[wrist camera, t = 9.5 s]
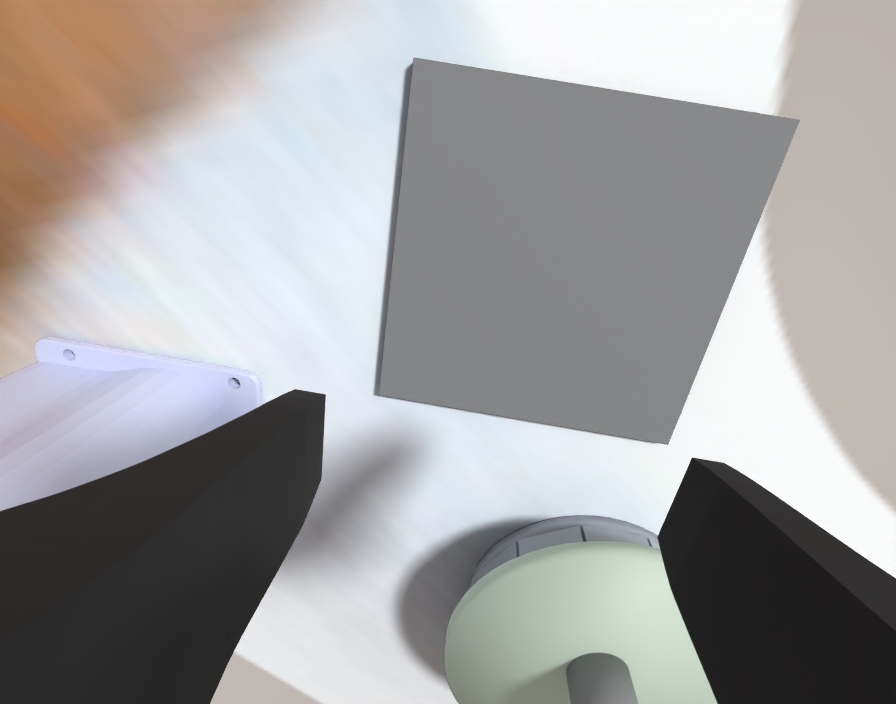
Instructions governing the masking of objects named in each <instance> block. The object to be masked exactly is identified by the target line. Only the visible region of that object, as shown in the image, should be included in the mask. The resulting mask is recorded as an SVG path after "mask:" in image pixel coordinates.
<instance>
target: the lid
mask: <svg viewBox="0 0 896 704" xmlns="http://www.w3.org/2000/svg"><path fill="white" fill-rule="evenodd" d="M444 666H445V675H446V678H447V681H448V685H449V687H450V689H451V691H452V693H453V695H454V697H455V699H456V700H457V702H458V703H459V704H717V701H716V699H715V696H714V694H713V692H712V689H711V687H710V684H709V682H708V679H707V677H706V675H705V672H704V670H703V667H702V665H701V663H700V660H699V658H698V655H697V653H696V650H695V648H694V646H693V643H692V641H691V638H690V636H689V634H688V631H687V629H686V626H685V624H684V621H683V619H682V616H681V614H680V611H679V609H678V606H677V604H676V601H675V599H674V596H673V594H672V591H671V588H670V585H669V581H668V578H667V574H666V570H665V567H664V563H663V559H662V555H661V551H660V549H659V548H654V547H650V546H645V545H640V544H634V543H625V542H616V541H587V542H575V543H567V544H561V545H556V546H551V547H546V548H543V549H539V550H536V551H533V552H529V553H526V554H524V555H522V556H519V557H517V558H514V559H512V560H510V561H508V562H506V563H504V564H502V565H500V566H499V567H497V568H495V569H493V570H492V571H490V572H489V573H488V574H486V575H485V576H484V577H482V578H481V579H480V580H478V581H477V582H476V583H475V584H474V585H473V586H472V587H471V588H470V589H469V590H468V591H467V592H466V593H465V595H464V596H463V597H462V599H461V600H460V601H459V603H458V604H457V606H456V608H455V610H454V612H453V614H452V616H451V618H450V621H449V624H448V628H447V633H446V644H445V655H444Z"/></svg>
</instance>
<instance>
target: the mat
mask: <svg viewBox="0 0 896 704" xmlns="http://www.w3.org/2000/svg"><path fill="white" fill-rule="evenodd" d="M799 121H800V120H797V119H791V118H785V117H779V116H772V115H766V114H760V113H754V112H748V111H741V110H735V109H729V108H723V107H717V106H710V105H704V104H698V103H692V102H686V101H679V100H673V99H667V98H661V97H655V96H648V95H642V94H636V93H630V92H624V91H618V90H611V89H605V88H599V87H593V86H587V85H580V84H574V83H568V82H562V81H556V80H549V79H543V78H537V77H531V76H525V75H518V74H512V73H506V72H500V71H494V70H487V69H481V68H475V67H469V66H463V65H457V64H450V63H444V62H438V61H432V60H426V59H419V58H414V59H413V68H412V78H411V88H410V97H409V107H408V117H407V126H406V136H405V146H404V155H403V165H402V175H401V185H400V194H399V204H398V214H397V223H396V233H395V243H394V252H393V262H392V272H391V281H390V291H389V301H388V310H387V320H386V330H385V340H384V349H383V359H382V369H381V378H380V388H379V395H381V396H387V397H393V398H399V399H404V400H410V401H416V402H422V403H428V404H434V405H439V406H445V407H451V408H457V409H463V410H469V411H474V412H480V413H486V414H492V415H498V416H503V417H509V418H515V419H521V420H527V421H533V422H538V423H544V424H550V425H556V426H562V427H568V428H573V429H579V430H585V431H591V432H597V433H602V434H608V435H614V436H620V437H626V438H632V439H637V440H643V441H649V442H655V443H661V444H667V445H668V443H669V441H670V439H671V436H672V434H673V431H674V429H675V426H676V424H677V421H678V419H679V416H680V414H681V411H682V409H683V407H684V404H685V402H686V399H687V397H688V394H689V392H690V389H691V387H692V384H693V382H694V379H695V377H696V375H697V372H698V370H699V367H700V365H701V362H702V360H703V357H704V355H705V352H706V350H707V347H708V345H709V342H710V340H711V338H712V335H713V333H714V330H715V328H716V325H717V323H718V320H719V318H720V315H721V313H722V310H723V308H724V306H725V303H726V301H727V298H728V296H729V293H730V291H731V288H732V286H733V283H734V281H735V278H736V276H737V274H738V271H739V269H740V266H741V264H742V261H743V259H744V256H745V254H746V251H747V249H748V246H749V244H750V242H751V239H752V237H753V234H754V232H755V229H756V227H757V224H758V222H759V219H760V217H761V214H762V212H763V210H764V207H765V205H766V202H767V200H768V197H769V195H770V192H771V190H772V187H773V185H774V182H775V180H776V177H777V175H778V172H779V170H780V167H781V165H782V163H783V160H784V158H785V155H786V153H787V150H788V148H789V146H790V143H791V140H792V138H793V136H794V133H795V130H796V128H797V126H798V123H799Z"/></svg>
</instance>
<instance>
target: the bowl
mask: <svg viewBox="0 0 896 704" xmlns="http://www.w3.org/2000/svg"><path fill="white" fill-rule="evenodd" d="M657 537H658V536H657V535H655V534H654V533H652V532H650V531H648V530H646V529H644V528H642V527H640V526H637V525H634V524H631V523H628V522H625V521H621V520H617V519H612V518H606V517H598V516H567V517H559V518H553V519H548V520H544V521H541V522H537V523H534V524H531V525H528V526H526V527H524V528H521V529H519V530H517V531H515V532H513V533H511V534H510V535H508V536H506V537H505V538H503V539H502V540H501V541H499V542H498V543H496V544H495V545H494V546H493V547H492V548H491V549H490V550H489V551H488V552H487V553H486V554H485V555H484V557H483V558H482V559H481V561H480V562H479V563H478V565H477V567H476V569H475V571H474V573H473V576H472V579H471V582H470V587H469V589H470V588H471V587H472V586H473V585H474V584H475V583H476V582H477V581H478V580H480V579H481V578H482V577H484V576H485V575H486V574H488V573H489V572H490V571H492V570H493V569H495V568H497V567H499V566H500V565H502V564H504V563H506V562H508V561H510V560H512V559H514V558H517V557H519V556H522V555H524V554H526V553H529V552H533V551H536V550H539V549H543V548H546V547H551V546H556V545H561V544H567V543H575V542H587V541H616V542H625V543H634V544H640V545H645V546H650V547H654V548H659V549H660V546H659V542H658V538H657Z"/></svg>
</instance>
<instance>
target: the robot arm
mask: <svg viewBox="0 0 896 704" xmlns="http://www.w3.org/2000/svg"><path fill="white" fill-rule="evenodd" d="M35 351H36V355H37V360H38V362H36V363H34V364H32V365H30V366H27V367H25V368H23V369H21V370H19V371H16V372H14V373H12V374H10V375H8V376H5V377H3V378H1V379H0V704H210V702H211V699H212V698H213V695H214V693H215V691H216V689H217V686H218V684H219V682H220V680H221V677H222V675H223V673H224V671H225V668H226V666H227V664H228V662H229V660H230V658H231V656H232V654H233V652H234V650H235V648H236V646H237V644H238V642H239V640H240V638H241V636H242V634H243V633H244V631H245V629H246V627H247V625H248V624H249V622H250V620H251V618H252V616H253V615H254V613H255V611H256V609H257V607H258V606H259V604H260V602H261V600H262V598H263V597H264V595H265V593H266V591H267V589H268V588H269V586H270V584H271V582H272V580H273V579H274V577H275V575H276V573H277V571H278V570H279V568H280V566H281V564H282V562H283V561H284V559H285V557H286V555H287V553H288V551H289V550H290V548H291V546H292V544H293V542H294V540H295V539H296V537H297V535H298V533H299V531H300V529H301V527H302V526H303V524H304V521H305V519H306V516H307V514H308V511H309V509H310V507H311V504H312V502H313V499H314V496H315V494H316V491H317V489H318V486H319V484H320V481H321V476H322V456H323V436H324V417H325V397H326V395H325V394H319V393H314V392H308V391H302V390H296V389H295V390H292V391H290V392H288V393H285V394H283V395H281V396H279V397H277V398H275V399H273V400H271V401H269V402H267V403H265V404H263V405H262V386H261V379H260V378H259V376H258V375H256V374H255V373H254V372H251V371H246V370H240V369H235V368H229V367H223V366H217V365H211V364H206V363H200V362H194V361H188V360H182V359H176V358H171V357H165V356H159V355H153V354H147V353H141V352H136V351H130V350H124V349H118V348H112V347H106V346H101V345H95V344H89V343H83V342H77V341H72V340H66V339H60V338H54V337H45V338H43V339H40V340H38V341H37V342H36V344H35ZM71 351H72V352H73V353H74V354H75V356H74V355H73V354H72V352H71ZM233 378H236V379H238V381H239V382H240V385H238V384H236V383H235V382H234V381H233ZM657 538H658V542H659V546H660V551H661V555H662V559H663V563H664V567H665V570H666V574H667V578H668V581H669V585H670V588H671V591H672V594H673V596H674V599H675V601H676V604H677V606H678V609H679V611H680V614H681V616H682V619H683V621H684V624H685V626H686V629H687V631H688V634H689V636H690V638H691V641H692V643H693V646H694V648H695V650H696V653H697V655H698V658H699V660H700V663H701V665H702V667H703V670H704V672H705V675H706V677H707V679H708V682H709V684H710V687H711V689H712V692H713V694H714V696H715V699H716V701H717V704H896V578H894V577H893V576H891V575H890V574H888V573H887V572H885V571H884V570H882V569H881V568H879V567H878V566H876V565H875V564H873V563H872V562H870V561H869V560H867V559H866V558H864V557H863V556H861V555H860V554H858V553H857V552H855V551H854V550H852V549H851V548H850V547H848V546H847V545H845V544H844V543H842V542H841V541H839V540H838V539H837V538H835V537H834V536H832V535H831V534H829V533H828V532H827V531H825V530H824V529H822V528H821V527H819V526H818V525H816V524H815V523H814V522H812V521H811V520H809V519H808V518H807V517H805V516H804V515H802V514H801V513H799V512H798V511H797V510H795V509H794V508H792V507H791V506H789V505H788V504H786V503H785V502H784V501H782V500H781V499H779V498H778V497H776V496H775V495H774V494H772V493H771V492H769V491H768V490H766V489H765V488H763V487H762V486H760V485H759V484H757V483H756V482H754V481H753V480H751V479H750V478H748V477H747V476H745V475H744V474H742V473H740V472H739V471H737V470H735V469H734V468H732V467H730V466H728V465H726V464H725V463H721V462H715V461H709V460H703V459H697V458H692V459H691V462H690V464H689V466H688V468H687V471H686V473H685V475H684V478H683V480H682V482H681V484H680V487H679V489H678V491H677V494H676V496H675V498H674V501H673V503H672V505H671V507H670V510H669V512H668V514H667V517H666V519H665V521H664V523H663V526H662V528H661V530H660V533H659V535H658V537H657Z"/></svg>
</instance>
